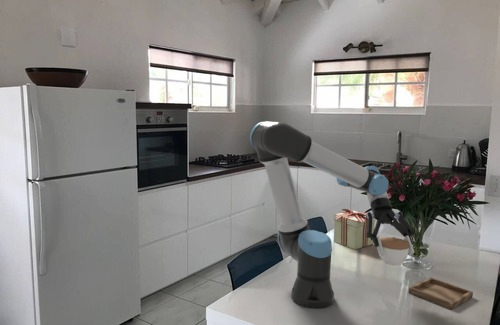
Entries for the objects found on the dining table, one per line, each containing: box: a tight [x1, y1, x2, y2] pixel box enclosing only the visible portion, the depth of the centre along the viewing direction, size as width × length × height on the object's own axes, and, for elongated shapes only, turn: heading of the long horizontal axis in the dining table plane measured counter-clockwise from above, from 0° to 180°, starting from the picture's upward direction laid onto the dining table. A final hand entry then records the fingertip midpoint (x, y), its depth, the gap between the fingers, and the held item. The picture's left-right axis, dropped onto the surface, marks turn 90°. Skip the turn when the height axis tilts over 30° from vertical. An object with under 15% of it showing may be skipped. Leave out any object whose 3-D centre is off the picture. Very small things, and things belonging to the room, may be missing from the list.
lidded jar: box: [379, 236, 410, 266], centre depth 146 cm, size 11×11×9 cm
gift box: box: [333, 208, 376, 250], centre depth 204 cm, size 17×18×17 cm
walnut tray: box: [408, 277, 474, 311], centre depth 148 cm, size 16×16×2 cm
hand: (397, 254), depth 143 cm, fingers closed on lidded jar, 11 cm apart
